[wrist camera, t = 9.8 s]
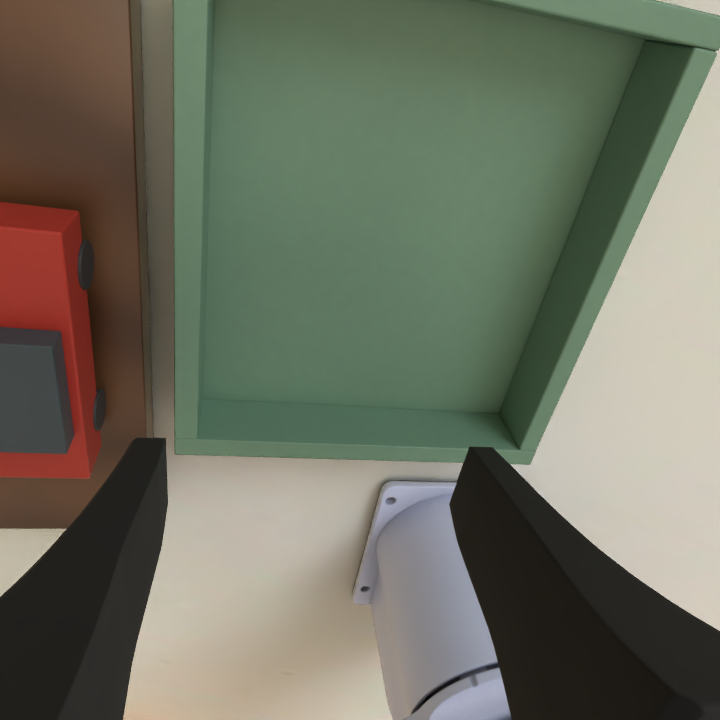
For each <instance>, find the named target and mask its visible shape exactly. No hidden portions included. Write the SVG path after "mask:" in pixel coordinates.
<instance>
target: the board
mask: <svg viewBox="0 0 720 720" xmlns="http://www.w3.org/2000/svg"><path fill="white" fill-rule="evenodd" d="M0 202H6V203H15V204H24V205H32V206H41V207H50V208H58V209H67V210H76V211H79V214H80V225H81V235H82V240H88V241H90V243H91V245H92V248H93V253H94V274H93V279H92V283H91V285H90V287H89V289H87V298H88V308H89V318H90V329H91V339H92V350H93V360H94V370H95V381H96V389H103V390H104V392H105V396H106V412H105V418H104V422H103V425H102V427H101V429H100V433H101V443H102V445H101V448H100V450H99V453H98V456H97V459H96V462H95V465H94V468H93V470H92V473H91V476H90V478H89V479H74V478H22V477H0V528H18V529H67V528H68V527H69V526H70V525H71V524H72V522H73V521H74V520H75V519H76V518H77V517H78V516H79V514H80V513H81V512H82V511H83V509H84V508H85V507H86V506H87V504H88V503H89V502H90V500H91V499H92V498H93V497H94V495H95V494H96V493H97V491H98V490H99V489H100V488H101V486H102V485H103V484H104V482H105V481H106V480H107V478H108V477H109V475H110V474H111V473H112V471H113V470H114V468H115V467H116V465H117V464H118V462H119V461H120V459H121V458H122V456H123V455H124V453H125V452H126V450H127V448H128V447H129V445H130V443H131V442H132V441H133V440H134V439H136V438H153V410H152V377H151V343H150V310H149V277H148V244H147V211H146V178H145V145H144V112H143V79H142V46H141V13H140V0H0Z"/></svg>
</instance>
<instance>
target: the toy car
mask: <svg viewBox="0 0 720 720" xmlns="http://www.w3.org/2000/svg"><path fill="white" fill-rule="evenodd" d="M93 274H94V253H93V248H92V245H91V243H90V241H88V240H82V235H81V225H80V214H79V211H76V210H67V209H58V208H50V207H41V206H32V205H24V204H15V203H6V202H0V477H22V478H74V479H89V478H90V476H91V473H92V470H93V468H94V465H95V462H96V459H97V456H98V453H99V450H100V448H101V445H102V443H101V433H100V429H101V427H102V425H103V422H104V418H105V412H106V396H105V392H104V390H103V389H96V381H95V370H94V360H93V350H92V339H91V329H90V318H89V308H88V298H87V289H89V287H90V285H91V283H92V279H93Z"/></svg>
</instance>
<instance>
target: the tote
mask: <svg viewBox="0 0 720 720" xmlns="http://www.w3.org/2000/svg"><path fill="white" fill-rule="evenodd" d="M719 48H720V16H719V15H715V14H710V13H706V12H702V11H698V10H694V9H689V8H685V7H681V6H677V5H673V4H668V3H664V2H660V1H656V0H173V135H174V415H175V454H176V455H211V456H245V457H280V458H315V459H350V460H385V461H419V462H454V463H464V460H465V458H466V455H467V452H468V449H469V447H493V448H494V449H495V450H496V451H497V452H498V453H499V454H500V455H501V456H502V457H503V458H504V459H505V460H506V461H507V462H508V463H509V464H524V465H529V464H530V463H531V461H532V459H533V457H534V454H535V452H536V451H535V450H536V449H537V447H538V445H539V442H540V440H541V438H542V436H543V434H544V431H545V429H546V427H547V425H548V423H549V421H550V418H551V416H552V414H553V412H554V410H555V407H556V405H557V403H558V401H559V399H560V396H561V394H562V392H563V390H564V388H565V386H566V383H567V381H568V379H569V377H570V375H571V372H572V370H573V368H574V366H575V364H576V361H577V359H578V357H579V355H580V353H581V351H582V348H583V346H584V344H585V342H586V340H587V337H588V335H589V333H590V331H591V329H592V326H593V324H594V322H595V320H596V318H597V316H598V313H599V311H600V309H601V307H602V305H603V302H604V300H605V298H606V296H607V294H608V291H609V289H610V287H611V285H612V283H613V281H614V278H615V276H616V274H617V272H618V270H619V267H620V265H621V263H622V261H623V259H624V256H625V254H626V252H627V250H628V248H629V246H630V243H631V241H632V239H633V237H634V235H635V232H636V230H637V228H638V226H639V224H640V221H641V219H642V217H643V215H644V213H645V211H646V208H647V206H648V204H649V202H650V200H651V197H652V195H653V193H654V191H655V189H656V187H657V184H658V182H659V180H660V178H661V176H662V173H663V171H664V169H665V167H666V165H667V162H668V160H669V158H670V156H671V154H672V152H673V149H674V147H675V145H676V143H677V141H678V138H679V136H680V134H681V132H682V130H683V127H684V125H685V123H686V121H687V119H688V117H689V114H690V112H691V110H692V108H693V106H694V103H695V101H696V99H697V97H698V95H699V92H700V90H701V88H702V86H703V84H704V82H705V79H706V77H707V75H708V73H709V71H710V68H711V66H712V64H713V62H714V60H715V57H716V55H717V53H716V52H715V51H717V50H719Z"/></svg>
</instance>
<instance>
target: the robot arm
mask: <svg viewBox="0 0 720 720" xmlns="http://www.w3.org/2000/svg"><path fill="white" fill-rule="evenodd" d="M390 497H392V498H390ZM388 498H389V499H388ZM167 505H168V494H167V461H166V438H136V439H134V440H133V441H132V442H131V443H130V445H129V447H128V448H127V450H126V452H125V453H124V455H123V456H122V458H121V459H120V461H119V462H118V464H117V465H116V467H115V468H114V470H113V471H112V473H111V474H110V475H109V477H108V478H107V480H106V481H105V482H104V484H103V485H102V486H101V488H100V489H99V490H98V491H97V493H96V494H95V495H94V497H93V498H92V499H91V500H90V502H89V503H88V504H87V506H86V507H85V508H84V509H83V511H82V512H81V513H80V514H79V516H78V517H77V518H76V519H75V520H74V521H73V522H72V524H71V525H70V526H69V527H68V528H67V529H66V530H65V532H64V533H63V534H62V535H61V536H60V537H59V539H58V540H57V541H56V542H55V543H54V544H53V545H52V546H51V547H50V548H49V550H48V551H47V552H46V553H45V554H44V555H43V556H42V557H41V558H40V559H39V560H38V561H37V562H36V563H35V564H34V565H33V566H32V567H31V568H30V569H29V570H28V571H27V572H26V573H25V574H24V575H23V576H22V577H21V578H20V579H19V580H18V581H17V582H16V583H15V584H14V585H13V586H12V587H11V588H9V589H8V590H7V591H6V592H5V593H4V594H3V595H2V596H1V597H0V720H123V715H124V709H125V703H126V697H127V691H128V685H129V679H130V672H131V666H132V661H133V657H134V652H135V648H136V643H137V639H138V635H139V631H140V628H141V624H142V620H143V616H144V612H145V608H146V605H147V601H148V597H149V593H150V589H151V585H152V582H153V578H154V574H155V570H156V566H157V562H158V558H159V554H160V550H161V546H162V540H163V533H164V527H165V519H166V512H167ZM352 596H353V602H354V603H356V604H359V605H365V604H370V605H371V611H372V616H373V622H374V628H375V634H376V639H377V645H378V651H379V657H380V662H381V668H382V674H383V680H384V685H385V691H386V697H387V702H388V706H389V710H390V713H391V715H392V718H393V720H720V631H718V630H717V629H715V628H713V627H712V626H710V625H708V624H707V623H705V622H703V621H701V620H700V619H698V618H696V617H695V616H693V615H691V614H690V613H688V612H687V611H685V610H683V609H682V608H680V607H679V606H677V605H676V604H674V603H672V602H671V601H669V600H668V599H666V598H665V597H663V596H662V595H660V594H659V593H658V592H656V591H655V590H653V589H652V588H650V587H649V586H647V585H646V584H644V583H643V582H642V581H640V580H639V579H637V578H636V577H635V576H633V575H632V574H630V573H629V572H628V571H626V570H625V569H624V568H623V567H621V566H620V565H619V564H617V563H616V562H615V561H614V560H612V559H611V558H610V557H608V556H607V555H606V554H605V553H603V552H602V551H601V550H600V549H598V548H597V547H596V546H595V545H594V544H592V543H591V542H590V541H589V540H588V539H587V538H586V537H584V536H583V535H582V534H581V533H580V532H579V531H578V530H577V529H575V528H574V527H573V526H572V525H571V524H570V523H569V522H568V521H567V520H565V519H564V518H563V517H562V516H561V515H560V514H559V513H558V512H557V511H556V510H555V509H554V508H553V507H552V506H551V505H550V504H549V503H548V502H547V501H546V500H545V499H544V498H543V497H541V496H540V495H539V494H538V493H537V492H536V491H535V490H534V489H533V488H532V486H531V485H530V484H529V483H528V482H527V481H526V480H525V479H524V478H523V477H522V476H521V475H520V474H519V473H518V472H517V471H516V470H515V469H514V468H513V467H512V466H511V465H510V464H509V463H508V462H507V461H506V460H505V459H504V458H503V457H502V456H501V455H500V454H499V453H498V452H497V451H496V450H495V449H494V448H493V447H469V449H468V452H467V455H466V458H465V460H464V463H463V466H462V469H461V472H460V475H459V477H458V480H457V482H411V481H390V482H387V483H385V484H384V485H383V486H382V488H381V492H380V496H379V499H378V503H377V507H376V510H375V514H374V518H373V521H372V525H371V529H370V532H369V536H368V539H367V543H366V547H365V550H364V554H363V558H362V561H361V565H360V569H359V572H358V576H357V580H356V583H355V587H354V591H353V594H352Z"/></svg>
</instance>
